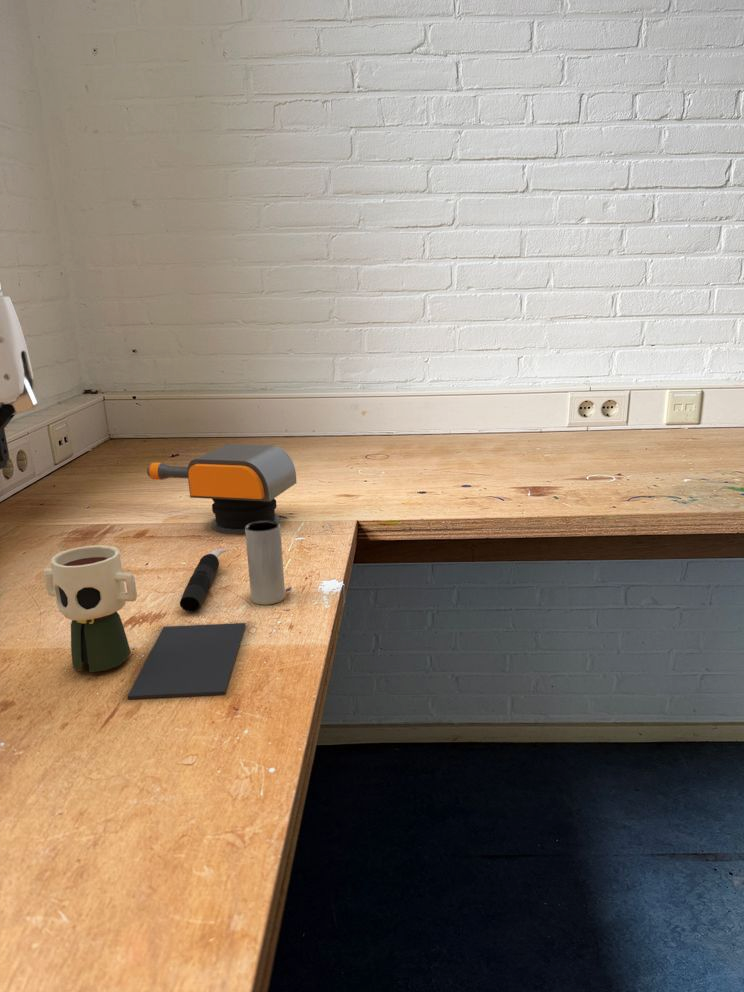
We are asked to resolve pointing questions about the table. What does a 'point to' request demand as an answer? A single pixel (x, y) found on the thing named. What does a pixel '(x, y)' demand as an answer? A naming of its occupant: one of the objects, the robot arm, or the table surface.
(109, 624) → the character mug
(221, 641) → the mat
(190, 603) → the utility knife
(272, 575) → the grey hollow cylinder
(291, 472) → the toy turret
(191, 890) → the table surface
